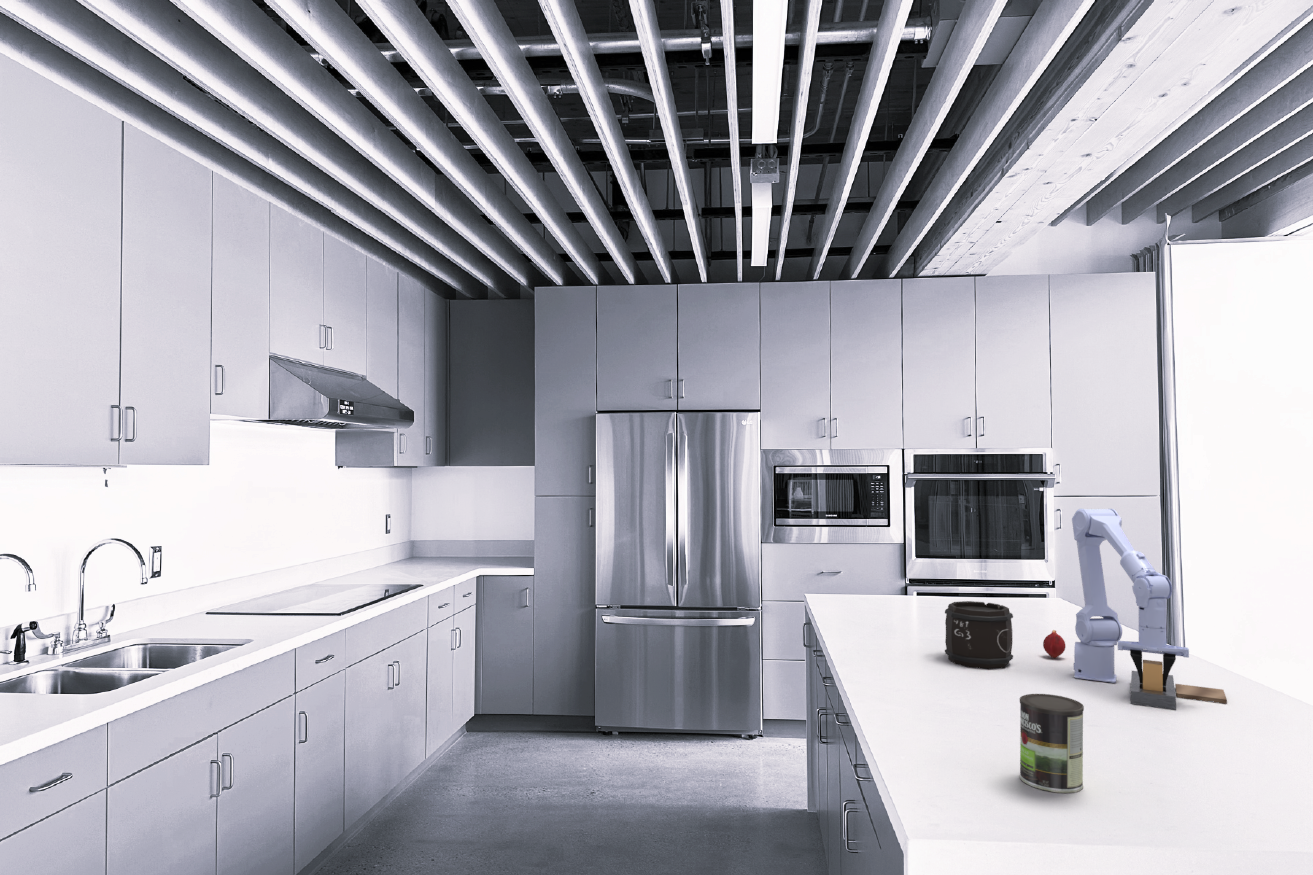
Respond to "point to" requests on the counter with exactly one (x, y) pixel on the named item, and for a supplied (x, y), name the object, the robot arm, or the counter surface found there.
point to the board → (1200, 693)
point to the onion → (1054, 644)
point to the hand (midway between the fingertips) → (1152, 683)
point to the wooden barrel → (978, 634)
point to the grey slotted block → (1153, 694)
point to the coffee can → (1051, 743)
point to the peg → (1152, 675)
